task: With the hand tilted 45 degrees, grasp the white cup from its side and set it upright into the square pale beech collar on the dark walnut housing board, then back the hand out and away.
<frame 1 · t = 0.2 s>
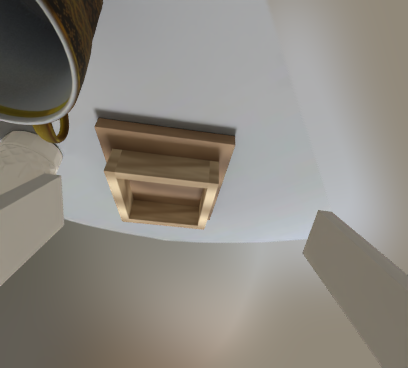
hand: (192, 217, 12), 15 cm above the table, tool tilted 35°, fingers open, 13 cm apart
white cup: (36, 147, 31), on the table
ceramic cup: (64, 0, 17), on the table
housing: (168, 177, 35), on the table
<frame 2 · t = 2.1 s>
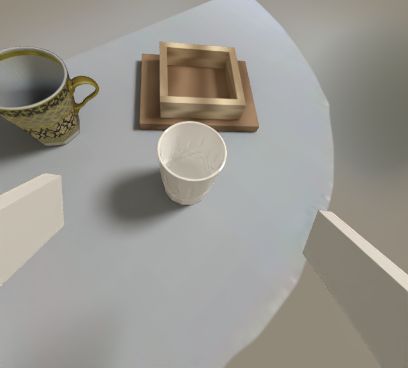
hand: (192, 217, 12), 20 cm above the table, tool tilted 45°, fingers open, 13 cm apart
white cup: (186, 185, 35), on the table
ceramic cup: (68, 128, 36), on the table
housing: (197, 95, 42), on the table
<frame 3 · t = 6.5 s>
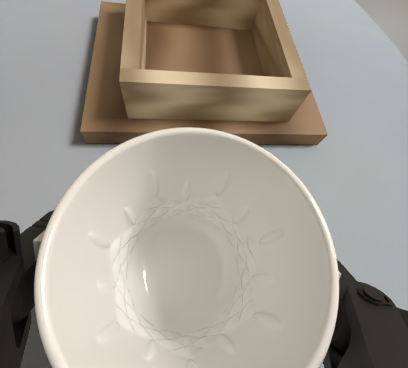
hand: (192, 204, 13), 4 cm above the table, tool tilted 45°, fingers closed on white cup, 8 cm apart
white cup: (181, 271, 15), on the table, touching gripper
housing: (203, 76, 23), on the table
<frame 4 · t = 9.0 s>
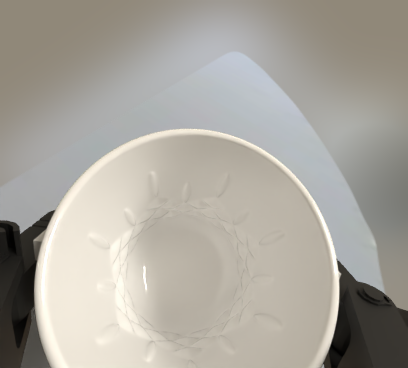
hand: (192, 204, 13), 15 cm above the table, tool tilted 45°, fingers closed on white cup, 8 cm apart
white cup: (181, 272, 15), point 12 cm above the table, touching gripper
when the fingers open (7 cm above the table, at t = 11.7 s): white cup drops 1 cm, resting on housing.
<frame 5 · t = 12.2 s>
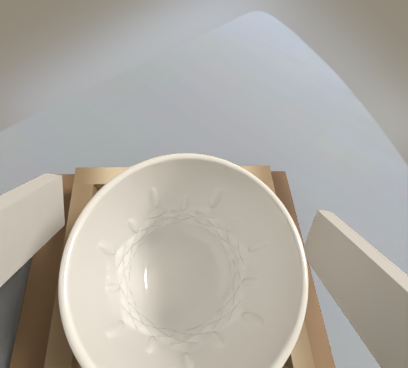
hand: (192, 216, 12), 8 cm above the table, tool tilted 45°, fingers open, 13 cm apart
white cup: (179, 274, 17), point 1 cm above the table, touching housing
housing: (180, 273, 18), on the table
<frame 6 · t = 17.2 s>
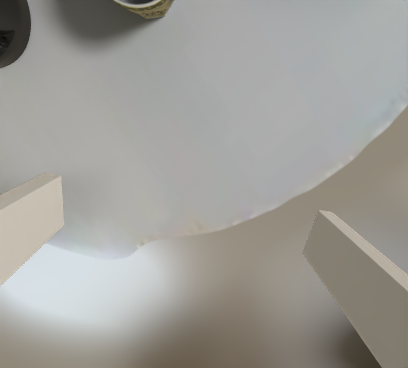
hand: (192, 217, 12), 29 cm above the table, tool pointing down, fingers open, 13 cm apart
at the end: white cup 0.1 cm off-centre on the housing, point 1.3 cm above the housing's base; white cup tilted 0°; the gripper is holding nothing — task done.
